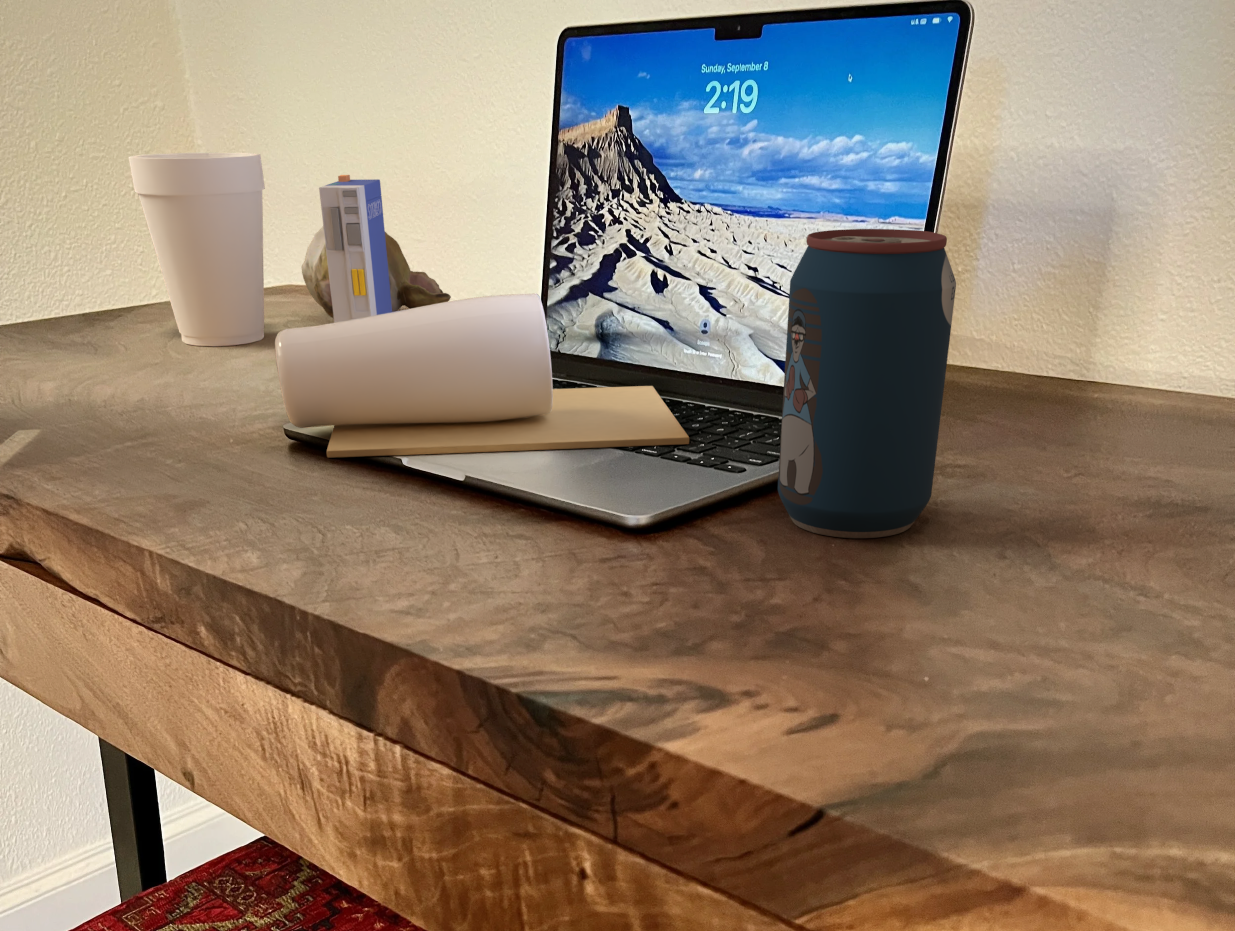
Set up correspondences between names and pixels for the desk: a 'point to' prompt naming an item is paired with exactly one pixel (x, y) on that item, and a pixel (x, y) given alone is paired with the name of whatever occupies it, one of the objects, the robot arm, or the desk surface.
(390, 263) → the ceramic sculpture
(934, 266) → the soda can
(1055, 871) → the desk surface
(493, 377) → the white tumbler
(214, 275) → the foam cup
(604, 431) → the cork mat
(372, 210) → the walkman
